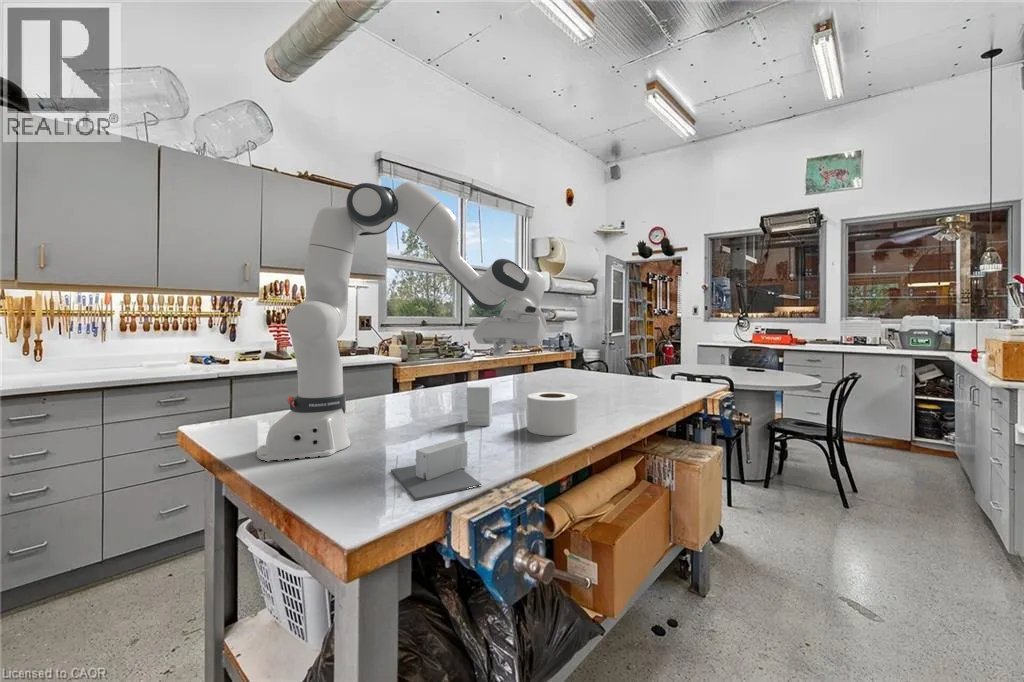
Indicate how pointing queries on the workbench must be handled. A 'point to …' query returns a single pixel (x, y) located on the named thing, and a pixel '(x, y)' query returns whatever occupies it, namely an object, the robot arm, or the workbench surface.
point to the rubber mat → (433, 482)
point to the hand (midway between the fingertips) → (497, 354)
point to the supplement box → (479, 404)
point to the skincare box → (441, 459)
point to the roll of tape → (552, 413)
